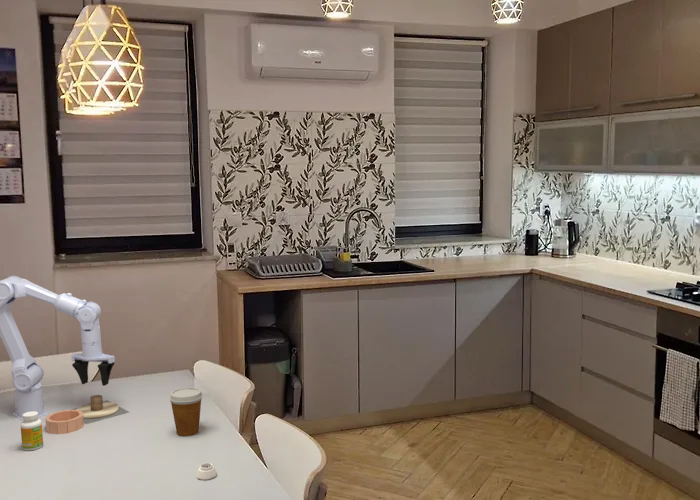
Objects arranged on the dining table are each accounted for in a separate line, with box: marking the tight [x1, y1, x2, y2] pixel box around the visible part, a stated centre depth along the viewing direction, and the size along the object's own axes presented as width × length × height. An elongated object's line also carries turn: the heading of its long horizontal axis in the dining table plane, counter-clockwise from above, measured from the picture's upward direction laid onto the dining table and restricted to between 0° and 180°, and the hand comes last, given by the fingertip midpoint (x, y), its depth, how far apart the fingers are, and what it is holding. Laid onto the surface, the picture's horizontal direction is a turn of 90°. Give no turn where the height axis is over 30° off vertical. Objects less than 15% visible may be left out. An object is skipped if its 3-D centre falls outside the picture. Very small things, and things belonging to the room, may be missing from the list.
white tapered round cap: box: [195, 462, 218, 481], centre depth 179 cm, size 5×3×5 cm
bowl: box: [45, 409, 85, 435], centre depth 212 cm, size 10×10×4 cm
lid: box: [76, 394, 120, 419], centre depth 225 cm, size 13×13×5 cm
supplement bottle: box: [20, 411, 44, 451], centre depth 198 cm, size 5×5×10 cm
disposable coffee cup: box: [168, 387, 204, 437], centre depth 207 cm, size 10×10×12 cm
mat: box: [70, 399, 130, 425], centre depth 225 cm, size 16×14×1 cm
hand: (95, 383), depth 224 cm, fingers open, 7 cm apart
